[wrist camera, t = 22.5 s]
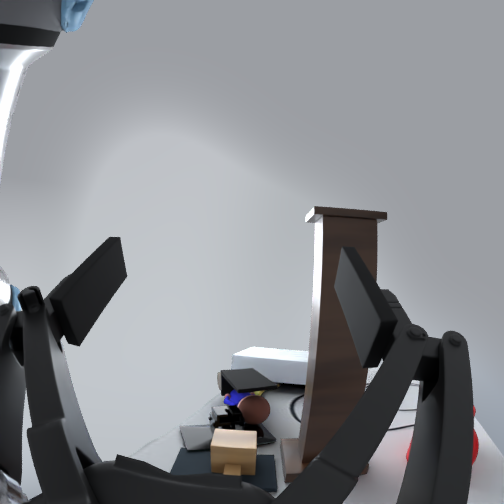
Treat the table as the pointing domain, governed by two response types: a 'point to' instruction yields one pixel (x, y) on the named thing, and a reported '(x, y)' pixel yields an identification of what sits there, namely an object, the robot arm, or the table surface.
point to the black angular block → (221, 419)
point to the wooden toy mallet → (233, 452)
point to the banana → (263, 391)
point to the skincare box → (274, 363)
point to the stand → (331, 336)
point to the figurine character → (246, 392)
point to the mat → (202, 464)
